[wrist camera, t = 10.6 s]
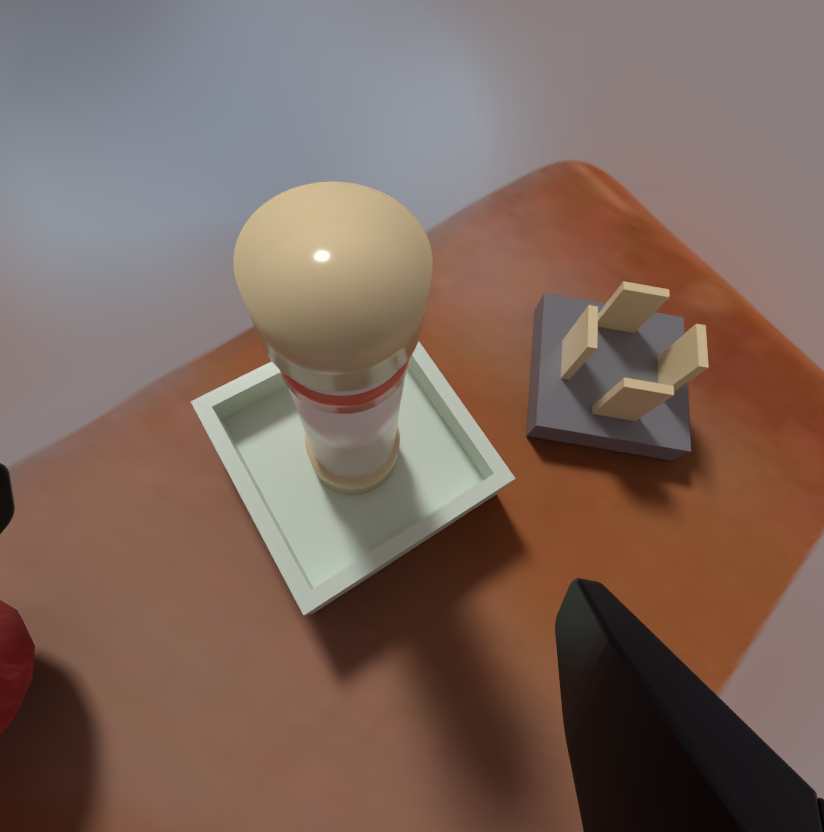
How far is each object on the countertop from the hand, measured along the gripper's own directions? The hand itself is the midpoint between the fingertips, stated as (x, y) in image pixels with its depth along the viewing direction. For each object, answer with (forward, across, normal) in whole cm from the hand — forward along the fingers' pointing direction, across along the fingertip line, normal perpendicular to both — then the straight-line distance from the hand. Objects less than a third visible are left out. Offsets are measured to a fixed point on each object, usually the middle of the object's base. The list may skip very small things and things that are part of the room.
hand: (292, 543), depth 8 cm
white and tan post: (+12, 0, +5) cm, 13 cm away
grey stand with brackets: (+17, -11, +1) cm, 20 cm away
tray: (+13, 0, +6) cm, 14 cm away
